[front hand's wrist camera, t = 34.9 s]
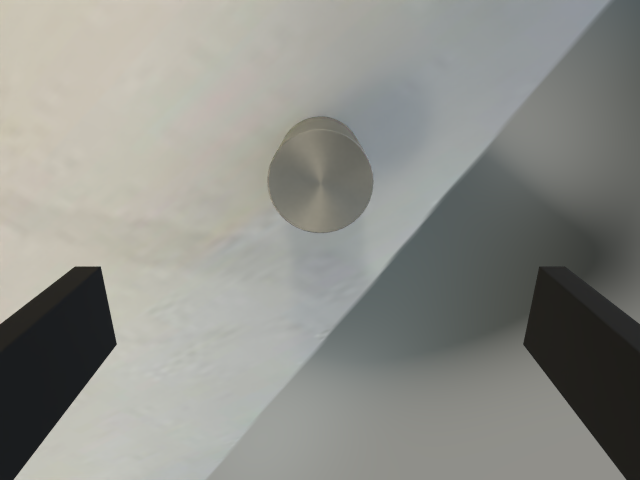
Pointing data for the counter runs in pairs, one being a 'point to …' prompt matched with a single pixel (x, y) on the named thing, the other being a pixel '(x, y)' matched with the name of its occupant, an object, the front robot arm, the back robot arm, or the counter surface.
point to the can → (320, 176)
